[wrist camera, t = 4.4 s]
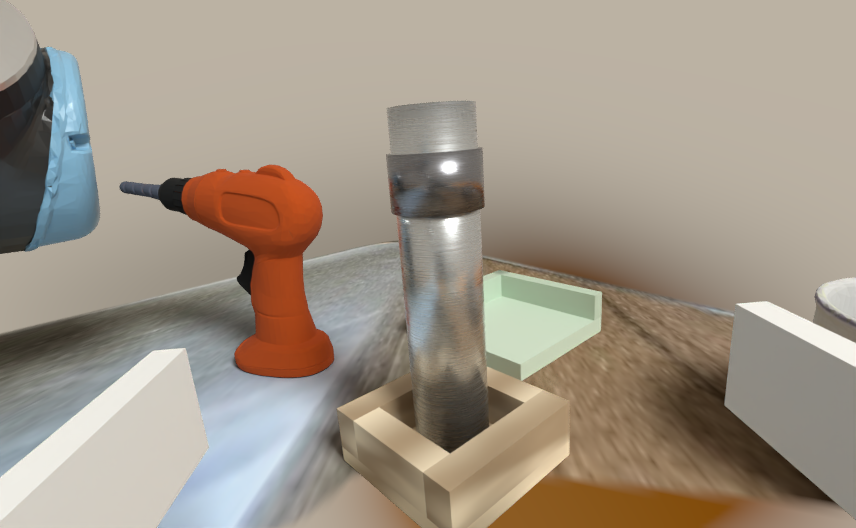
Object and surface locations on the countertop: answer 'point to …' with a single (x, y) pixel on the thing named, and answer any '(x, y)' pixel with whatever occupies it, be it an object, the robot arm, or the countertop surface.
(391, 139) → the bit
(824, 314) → the teacup
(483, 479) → the socket
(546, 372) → the countertop surface
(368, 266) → the countertop surface
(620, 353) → the countertop surface
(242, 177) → the toy drill
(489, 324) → the pale green flat tray
